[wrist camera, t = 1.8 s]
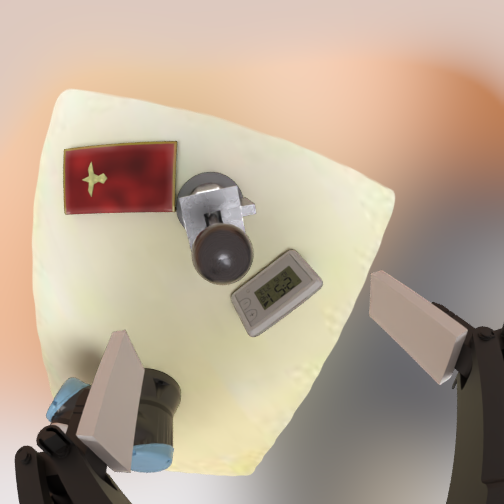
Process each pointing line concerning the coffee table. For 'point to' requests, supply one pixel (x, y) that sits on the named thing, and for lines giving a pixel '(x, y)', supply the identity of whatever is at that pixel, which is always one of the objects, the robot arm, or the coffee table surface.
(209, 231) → the ball knob lever
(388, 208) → the coffee table surface
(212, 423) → the coffee table surface
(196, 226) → the grey blocky piece
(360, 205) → the coffee table surface
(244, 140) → the coffee table surface
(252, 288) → the digital clock
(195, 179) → the trivet
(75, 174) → the hardcover book
